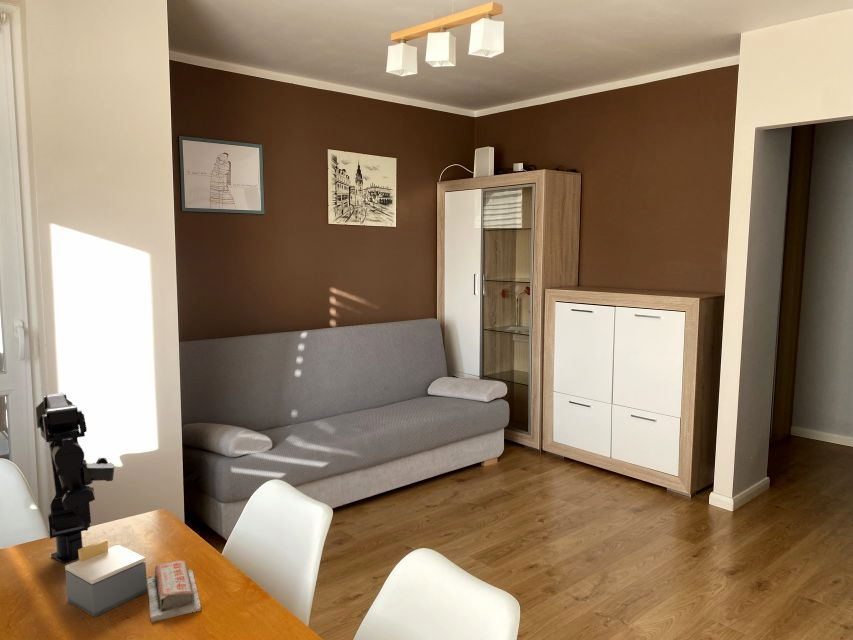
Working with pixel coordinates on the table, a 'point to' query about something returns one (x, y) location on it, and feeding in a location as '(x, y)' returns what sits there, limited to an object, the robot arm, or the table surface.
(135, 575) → the storage box
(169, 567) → the packaged product
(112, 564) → the lid
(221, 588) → the table surface
